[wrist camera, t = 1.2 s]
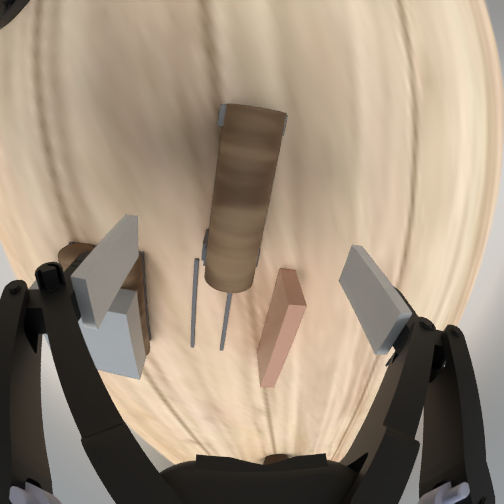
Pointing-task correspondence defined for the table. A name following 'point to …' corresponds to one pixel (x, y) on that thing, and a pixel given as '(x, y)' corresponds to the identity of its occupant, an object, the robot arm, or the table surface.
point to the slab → (116, 337)
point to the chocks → (195, 277)
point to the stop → (280, 326)
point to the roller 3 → (242, 194)
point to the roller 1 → (72, 253)
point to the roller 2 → (139, 297)
